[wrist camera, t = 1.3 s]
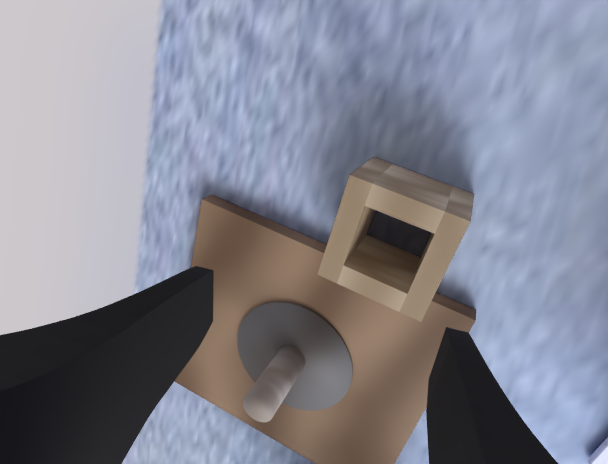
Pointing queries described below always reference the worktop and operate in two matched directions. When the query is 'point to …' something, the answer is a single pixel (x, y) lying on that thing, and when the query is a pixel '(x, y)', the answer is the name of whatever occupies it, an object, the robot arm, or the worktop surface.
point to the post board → (308, 344)
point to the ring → (384, 257)
